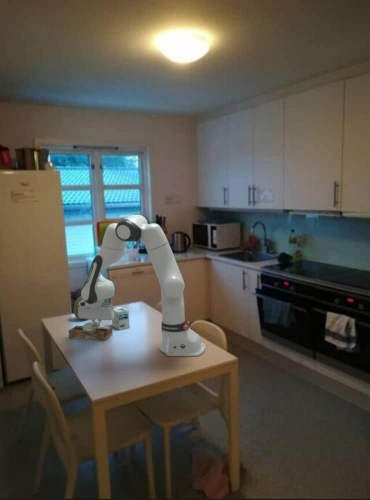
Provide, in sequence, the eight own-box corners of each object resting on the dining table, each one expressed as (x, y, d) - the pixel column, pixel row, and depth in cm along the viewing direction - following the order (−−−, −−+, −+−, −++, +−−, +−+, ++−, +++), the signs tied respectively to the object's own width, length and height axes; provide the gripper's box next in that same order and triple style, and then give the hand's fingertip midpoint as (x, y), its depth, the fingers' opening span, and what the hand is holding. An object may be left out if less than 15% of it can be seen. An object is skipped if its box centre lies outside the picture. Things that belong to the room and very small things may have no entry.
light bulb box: (129, 328, 222) (129, 310, 220) (119, 330, 218) (118, 312, 216) (122, 323, 231) (121, 305, 229) (111, 325, 227) (110, 307, 225)
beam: (112, 334, 212) (112, 327, 211) (105, 340, 204) (105, 333, 203) (76, 332, 217) (76, 325, 217) (69, 337, 210) (68, 330, 209)
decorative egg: (84, 323, 232) (82, 299, 230) (70, 321, 237) (68, 297, 235) (95, 317, 242) (94, 294, 240) (82, 315, 247) (80, 293, 244)
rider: (98, 330, 213) (97, 321, 212) (91, 335, 206) (91, 325, 206) (90, 329, 214) (89, 321, 214) (83, 334, 208) (82, 325, 207)
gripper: (115, 301, 207) (117, 325, 209) (81, 299, 212) (83, 323, 214) (110, 304, 201) (112, 330, 203) (75, 302, 206) (77, 327, 208)
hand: (97, 326), depth 209 cm, fingers closed
